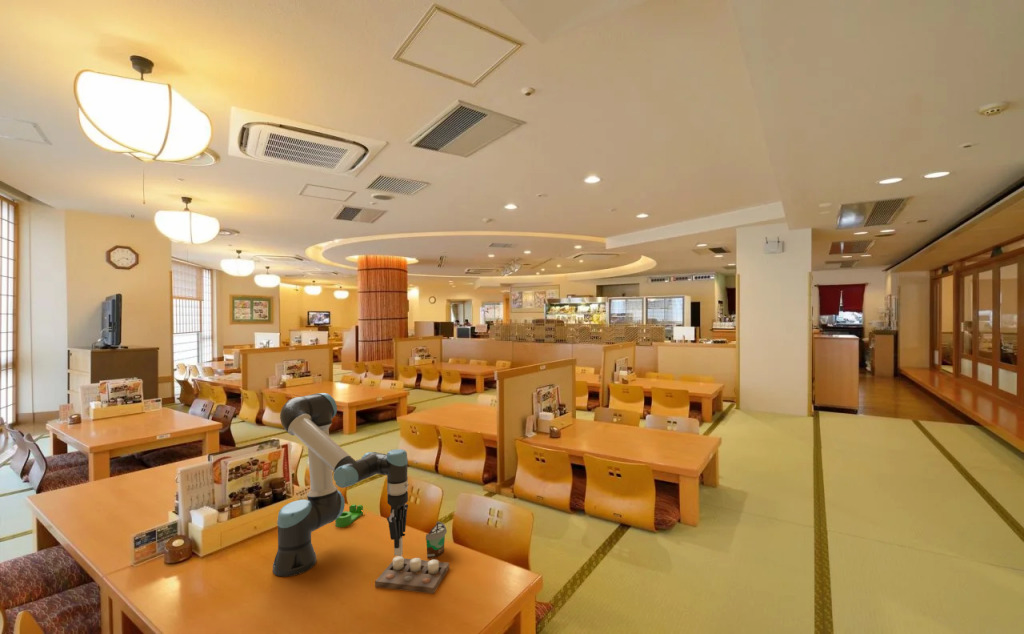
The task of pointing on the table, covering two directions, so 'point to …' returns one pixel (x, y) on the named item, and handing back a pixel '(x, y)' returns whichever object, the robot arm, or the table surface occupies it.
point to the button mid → (415, 565)
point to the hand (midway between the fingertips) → (398, 554)
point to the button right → (433, 567)
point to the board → (412, 578)
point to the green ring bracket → (349, 516)
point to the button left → (398, 563)
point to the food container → (436, 540)
